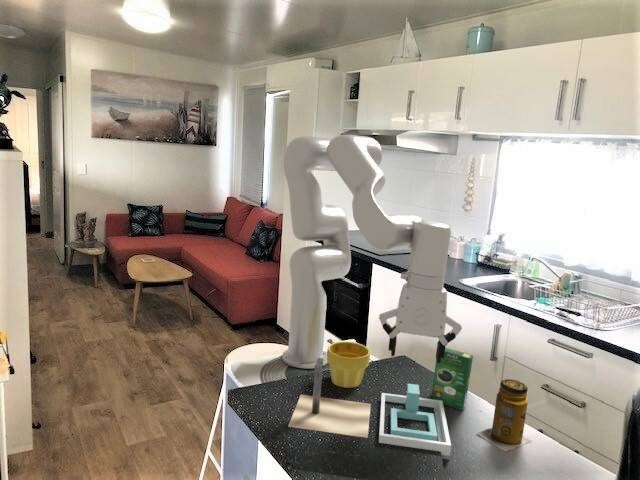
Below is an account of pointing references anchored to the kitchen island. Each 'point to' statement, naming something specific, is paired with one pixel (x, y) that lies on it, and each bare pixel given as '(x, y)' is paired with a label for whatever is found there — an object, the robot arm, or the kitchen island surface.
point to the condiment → (508, 416)
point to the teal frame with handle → (413, 417)
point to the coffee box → (452, 378)
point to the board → (332, 416)
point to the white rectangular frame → (440, 445)
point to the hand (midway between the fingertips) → (415, 357)
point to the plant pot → (347, 363)
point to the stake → (317, 386)
